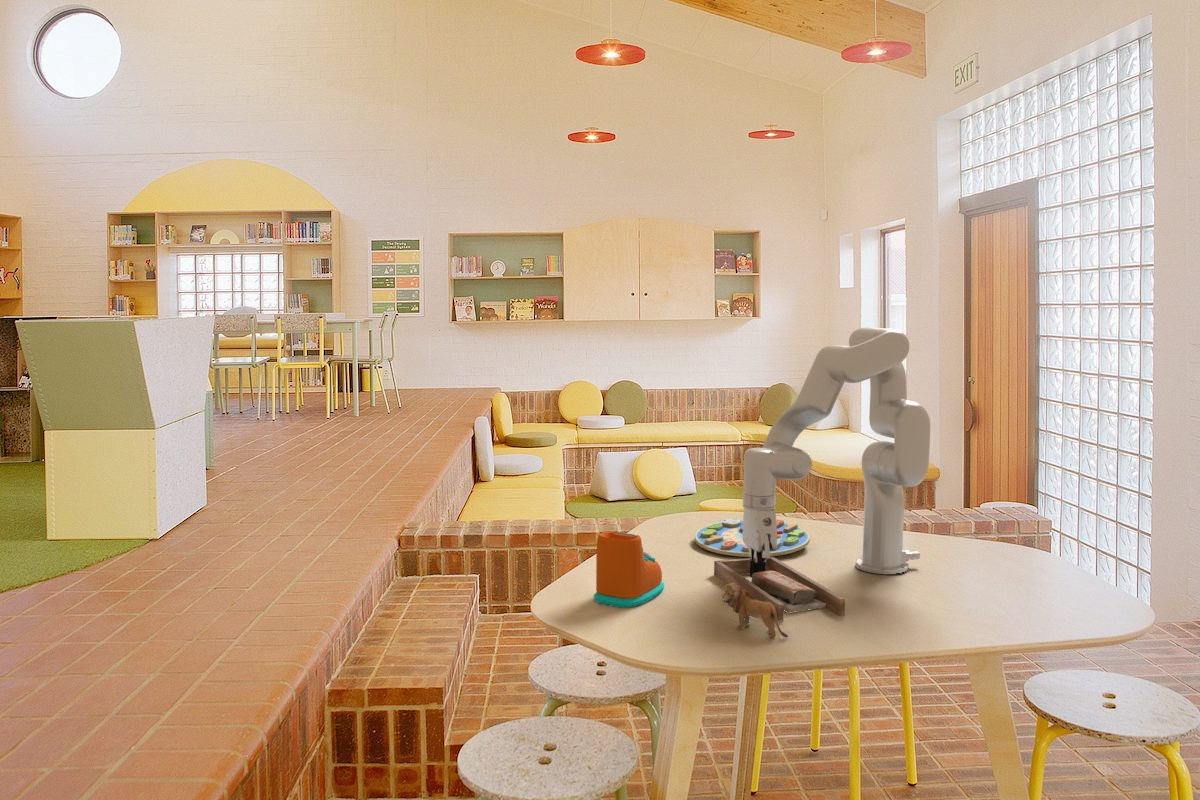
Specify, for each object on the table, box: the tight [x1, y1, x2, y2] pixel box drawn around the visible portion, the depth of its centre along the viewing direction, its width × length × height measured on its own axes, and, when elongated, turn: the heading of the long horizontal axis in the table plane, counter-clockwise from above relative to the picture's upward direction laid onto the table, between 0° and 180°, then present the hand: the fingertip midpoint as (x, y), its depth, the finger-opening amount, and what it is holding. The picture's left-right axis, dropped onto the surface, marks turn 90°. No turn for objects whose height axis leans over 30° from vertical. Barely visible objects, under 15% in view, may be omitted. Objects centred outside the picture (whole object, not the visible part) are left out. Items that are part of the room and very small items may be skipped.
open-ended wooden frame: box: [713, 556, 846, 622], centre depth 225 cm, size 15×35×4 cm, turn 16°
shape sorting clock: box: [694, 518, 811, 558], centre depth 268 cm, size 31×30×6 cm
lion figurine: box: [721, 583, 789, 641], centre depth 199 cm, size 15×5×9 cm, turn 51°
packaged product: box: [750, 570, 827, 613], centre depth 221 cm, size 18×5×10 cm
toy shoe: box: [593, 530, 665, 608], centre depth 223 cm, size 12×20×15 cm, turn 150°
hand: (757, 577), depth 234 cm, fingers closed
